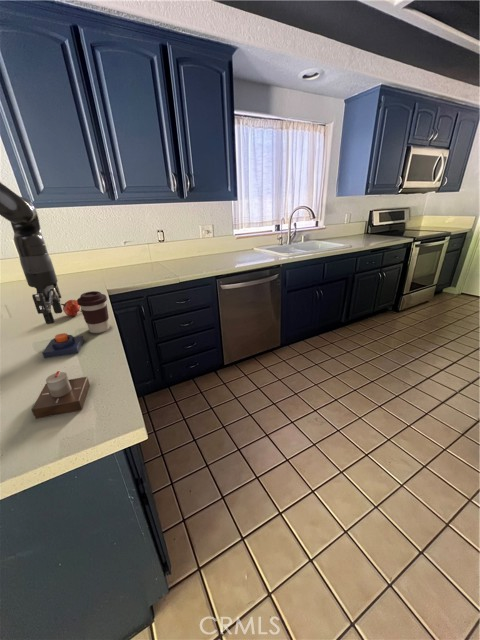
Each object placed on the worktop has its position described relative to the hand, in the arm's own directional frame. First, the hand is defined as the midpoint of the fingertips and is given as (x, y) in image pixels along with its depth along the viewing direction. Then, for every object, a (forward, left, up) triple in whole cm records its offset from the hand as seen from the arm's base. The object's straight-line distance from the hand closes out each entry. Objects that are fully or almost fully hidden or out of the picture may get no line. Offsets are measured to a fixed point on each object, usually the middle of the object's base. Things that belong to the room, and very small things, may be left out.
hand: (54, 317), depth 87 cm
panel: (+7, -29, -12) cm, 32 cm away
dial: (+7, -29, -9) cm, 31 cm away
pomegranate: (-4, +32, -12) cm, 35 cm away
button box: (0, 0, -12) cm, 12 cm away
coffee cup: (+9, +13, -12) cm, 20 cm away
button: (0, 0, -8) cm, 8 cm away
